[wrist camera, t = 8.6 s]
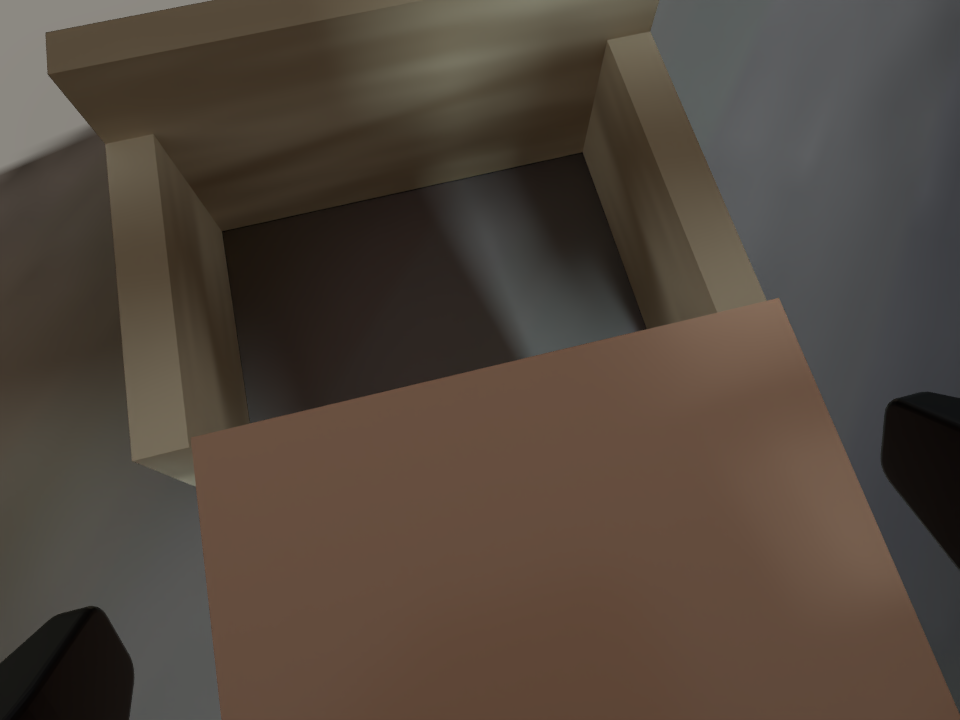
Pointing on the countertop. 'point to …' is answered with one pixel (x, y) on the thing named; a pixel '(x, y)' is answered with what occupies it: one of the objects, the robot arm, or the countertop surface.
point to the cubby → (367, 156)
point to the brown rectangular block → (563, 546)
